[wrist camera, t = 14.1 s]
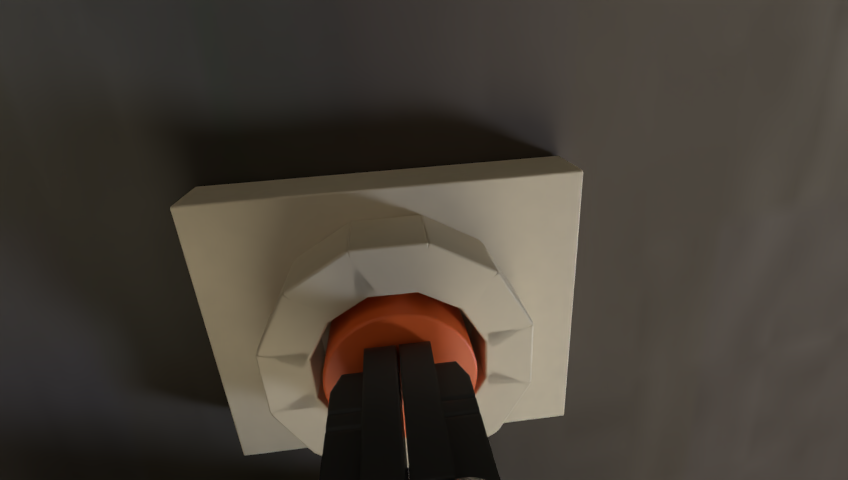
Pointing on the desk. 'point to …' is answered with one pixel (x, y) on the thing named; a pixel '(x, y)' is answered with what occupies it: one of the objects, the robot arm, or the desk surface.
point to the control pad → (384, 280)
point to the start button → (396, 334)
